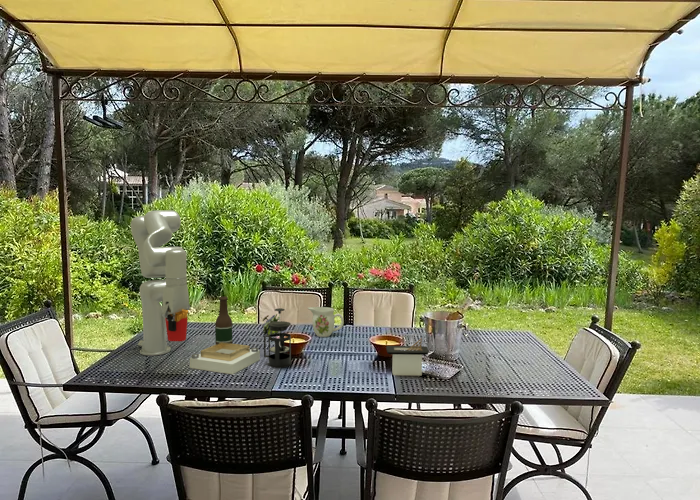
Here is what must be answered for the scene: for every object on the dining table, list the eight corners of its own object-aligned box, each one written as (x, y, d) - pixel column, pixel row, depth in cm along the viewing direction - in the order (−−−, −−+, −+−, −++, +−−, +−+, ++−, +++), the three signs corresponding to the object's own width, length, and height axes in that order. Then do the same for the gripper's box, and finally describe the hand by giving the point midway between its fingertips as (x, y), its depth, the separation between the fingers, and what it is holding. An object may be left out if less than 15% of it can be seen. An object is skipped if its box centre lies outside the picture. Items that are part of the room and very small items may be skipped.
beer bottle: (228, 353, 228) (227, 299, 226) (212, 352, 230) (211, 298, 227) (235, 348, 236) (235, 295, 234) (219, 347, 237) (219, 295, 235)
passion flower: (266, 342, 265) (264, 321, 271) (287, 339, 264) (285, 317, 270) (260, 335, 255) (259, 312, 261) (282, 331, 255) (280, 309, 261)
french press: (295, 361, 218) (295, 306, 216) (290, 368, 208) (290, 311, 206) (267, 360, 219) (267, 306, 217) (261, 367, 210) (260, 310, 207)
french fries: (164, 341, 198) (163, 310, 196) (168, 338, 201) (167, 307, 200) (187, 341, 198) (186, 310, 196) (190, 338, 201) (189, 308, 200)
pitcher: (342, 338, 254) (343, 310, 252) (306, 337, 254) (306, 310, 253) (344, 332, 265) (344, 306, 263) (308, 332, 265) (308, 305, 264)
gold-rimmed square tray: (189, 367, 208) (189, 352, 207) (219, 354, 227) (219, 339, 226) (232, 374, 201) (232, 357, 200) (259, 359, 219) (259, 344, 219)
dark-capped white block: (445, 363, 218) (446, 330, 216) (459, 388, 190) (460, 349, 188) (361, 363, 218) (361, 329, 216) (362, 387, 190) (363, 348, 188)
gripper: (182, 277, 206) (183, 323, 208) (152, 284, 190) (153, 333, 192) (198, 279, 203) (199, 325, 205) (168, 286, 188) (169, 335, 190)
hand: (177, 328), depth 199 cm, fingers closed on french fries, 4 cm apart
